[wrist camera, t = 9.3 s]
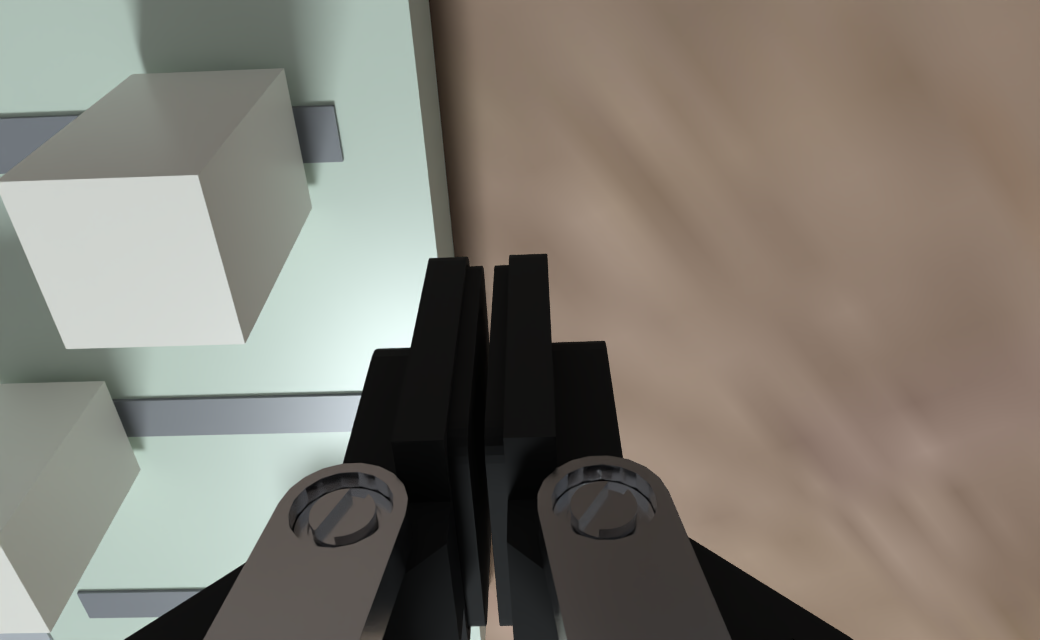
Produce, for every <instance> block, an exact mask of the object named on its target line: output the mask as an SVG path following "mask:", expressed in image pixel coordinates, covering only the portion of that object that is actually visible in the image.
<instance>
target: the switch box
mask: <svg viewBox="0 0 1040 640" xmlns="http://www.w3.org/2000/svg"><path fill="white" fill-rule="evenodd" d="M274 68H284V71H285V76H286V80H287V85H288V90H289V95H290V100H291V105H292V110H293V115H294V120H295V125H296V130H297V135H298V140H299V145H300V150H301V155H302V160H303V165H304V170H305V175H306V180H307V185H308V190H309V194H310V199H311V204H312V209H311V211H310V214H309V216H308V218H307V220H306V222H305V224H304V226H303V228H302V230H301V232H300V234H299V236H298V238H297V240H296V242H295V244H294V246H293V248H292V250H291V252H290V254H289V256H288V258H287V260H286V262H285V264H284V266H283V268H282V270H281V272H280V274H279V276H278V278H277V280H276V282H275V284H274V286H273V289H272V291H271V293H270V295H269V297H268V299H267V301H266V303H265V305H264V307H263V309H262V311H261V313H260V315H259V317H258V319H257V321H256V323H255V325H254V327H253V329H252V331H251V333H250V335H249V337H248V339H247V341H246V343H245V344H232V345H196V346H160V347H123V348H87V349H66V348H65V345H64V343H63V341H62V338H61V336H60V334H59V331H58V329H57V327H56V324H55V322H54V320H53V317H52V315H51V312H50V310H49V308H48V305H47V303H46V301H45V298H44V296H43V294H42V291H41V289H40V287H39V284H38V282H37V280H36V277H35V275H34V273H33V270H32V268H31V266H30V263H29V261H28V259H27V256H26V254H25V252H24V249H23V247H22V245H21V242H20V240H19V238H18V235H17V233H16V231H15V228H14V226H13V224H12V221H11V219H10V217H9V214H8V212H7V210H6V207H5V205H4V203H3V200H2V198H1V196H0V384H10V383H49V382H87V381H105V383H106V386H107V388H108V391H109V393H110V396H111V398H112V401H113V403H114V405H115V408H116V410H117V413H118V415H119V418H120V420H121V423H122V425H123V428H124V430H125V432H126V435H127V437H128V440H129V442H130V445H131V447H132V450H133V452H134V455H135V457H136V459H137V462H138V464H139V467H140V469H141V470H140V472H139V474H138V476H137V477H136V479H135V481H134V483H133V485H132V486H131V488H130V490H129V492H128V494H127V495H126V497H125V499H124V501H123V503H122V504H121V506H120V508H119V510H118V512H117V514H116V515H115V517H114V519H113V521H112V523H111V524H110V526H109V528H108V530H107V532H106V533H105V535H104V537H103V539H102V541H101V542H100V544H99V546H98V548H97V550H96V552H95V553H94V555H93V557H92V559H91V561H90V562H89V564H88V566H87V568H86V570H85V571H84V573H83V575H82V577H81V579H80V580H79V582H78V584H77V586H76V588H75V589H74V591H73V593H72V595H71V597H70V599H69V600H68V602H67V604H66V606H65V608H64V609H63V611H62V613H61V615H60V617H59V618H58V620H57V622H56V624H55V626H54V627H53V629H52V631H51V633H4V634H0V640H124V639H126V638H127V637H129V636H130V635H132V634H133V633H135V632H137V631H138V630H140V629H141V628H143V627H145V626H146V625H148V624H149V623H151V622H152V621H154V620H156V619H157V618H159V617H160V616H162V615H163V614H165V613H167V612H168V611H170V610H171V609H173V608H175V607H176V606H178V605H179V604H181V603H182V602H184V601H186V600H187V599H189V598H190V597H192V596H193V595H195V594H197V593H198V592H200V591H201V590H203V589H205V588H206V587H208V586H209V585H211V584H212V583H214V582H216V581H217V580H219V579H220V578H222V577H224V576H225V575H227V574H228V573H230V572H231V571H233V570H235V569H236V568H238V567H239V566H241V565H242V564H244V563H246V561H247V559H248V557H249V556H250V554H251V552H252V550H253V548H254V547H255V545H256V543H257V541H258V539H259V537H260V536H261V534H262V532H263V530H264V528H265V527H266V525H267V523H268V521H269V519H270V517H271V516H272V514H273V512H274V510H275V508H276V507H277V505H278V503H279V502H280V500H281V499H282V498H283V496H284V495H285V494H286V493H287V491H288V490H289V489H290V488H291V487H292V486H294V485H295V484H296V483H298V482H299V481H300V480H301V479H303V478H304V477H306V476H308V475H310V474H312V473H314V472H316V471H319V470H321V469H323V468H327V467H331V466H335V465H339V464H343V461H344V457H345V453H346V449H347V446H348V442H349V438H350V435H351V431H352V427H353V424H354V420H355V416H356V413H357V409H358V405H359V402H360V398H361V394H362V390H363V387H364V383H365V379H366V376H367V372H368V368H369V365H370V361H371V357H372V355H373V352H374V350H376V349H379V348H409V347H411V342H412V337H413V332H414V327H415V323H416V318H417V313H418V308H419V303H420V298H421V293H422V289H423V284H424V279H425V274H426V269H427V264H428V260H429V258H446V257H454V247H453V237H452V227H451V217H450V207H449V197H448V187H447V177H446V168H445V158H444V148H443V138H442V128H441V118H440V108H439V98H438V88H437V78H436V68H435V58H434V48H433V38H432V28H431V18H430V8H429V0H0V178H1V177H2V176H3V175H4V174H6V173H7V172H8V171H9V170H11V169H12V168H13V167H15V166H16V165H17V164H18V163H20V162H21V161H22V160H23V159H25V158H26V157H27V156H29V155H30V154H31V153H32V152H34V151H35V150H36V149H37V148H39V147H40V146H41V145H43V144H44V143H45V142H46V141H48V140H49V139H50V138H51V137H53V136H54V135H55V134H57V133H58V132H59V131H60V130H62V129H63V128H64V127H65V126H67V125H68V124H69V123H71V122H72V121H73V120H74V119H76V118H77V117H78V116H79V115H81V114H82V113H83V112H85V111H86V110H87V109H88V108H90V107H91V106H92V105H93V104H95V103H96V102H97V101H99V100H100V99H101V98H102V97H104V96H105V95H106V94H107V93H109V92H110V91H111V90H112V89H114V88H115V87H116V86H118V85H119V84H120V83H121V82H123V81H124V80H125V79H126V78H128V77H129V76H130V75H132V74H148V73H173V72H199V71H224V70H249V69H274ZM485 634H486V626H473V627H471V635H470V640H485Z"/></svg>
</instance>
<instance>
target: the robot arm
mask: <svg viewBox="0 0 1040 640" xmlns="http://www.w3.org/2000/svg"><path fill="white" fill-rule="evenodd" d="M491 532H492V544H493V555H494V567H495V578H496V590H497V601H498V613H499V623H500V626H513V635H514V640H853V639H852V638H850V637H849V636H847V635H846V634H844V633H842V632H841V631H839V630H838V629H836V628H834V627H833V626H831V625H829V624H828V623H826V622H825V621H823V620H821V619H820V618H818V617H817V616H815V615H813V614H812V613H810V612H808V611H807V610H805V609H804V608H802V607H800V606H799V605H797V604H796V603H794V602H792V601H791V600H789V599H788V598H786V597H784V596H783V595H781V594H779V593H778V592H776V591H775V590H773V589H771V588H770V587H768V586H767V585H765V584H763V583H762V582H760V581H758V580H757V579H755V578H754V577H752V576H750V575H749V574H747V573H746V572H744V571H742V570H741V569H739V568H738V567H736V566H734V565H733V564H731V563H729V562H728V561H726V560H725V559H723V558H721V557H720V556H718V555H717V554H715V553H713V552H712V551H710V550H708V549H707V548H705V547H704V546H702V545H700V544H699V543H697V542H696V541H694V540H692V539H691V538H689V537H688V536H687V533H686V531H685V528H684V526H683V524H682V521H681V519H680V517H679V514H678V512H677V510H676V507H675V505H674V502H673V500H672V498H671V495H670V493H669V491H668V489H667V488H666V486H665V485H664V483H663V482H662V480H661V479H660V478H659V477H658V476H657V475H656V474H654V473H653V472H652V471H650V470H649V469H648V468H647V467H645V466H643V465H640V464H638V463H636V462H634V461H631V460H629V459H624V458H623V455H622V449H621V442H620V435H619V428H618V422H617V415H616V408H615V401H614V395H613V388H612V381H611V374H610V368H609V361H608V354H607V348H606V343H605V341H587V342H558V343H552V340H551V320H550V300H549V280H548V259H547V254H528V255H509V265H500V266H495V267H494V282H493V298H492V314H491V330H490V345H489V332H488V319H487V306H486V292H485V279H484V269H483V266H472V267H470V266H469V259H468V257H446V258H429V260H428V264H427V269H426V274H425V279H424V284H423V289H422V293H421V298H420V303H419V308H418V313H417V318H416V323H415V327H414V332H413V337H412V342H411V347H409V348H379V349H376V350H374V352H373V355H372V357H371V361H370V365H369V368H368V372H367V376H366V379H365V383H364V387H363V390H362V394H361V398H360V402H359V405H358V409H357V413H356V416H355V420H354V424H353V427H352V431H351V435H350V438H349V442H348V446H347V449H346V453H345V457H344V461H343V464H339V465H335V466H331V467H327V468H323V469H321V470H319V471H316V472H314V473H312V474H310V475H308V476H306V477H304V478H303V479H301V480H300V481H299V482H298V483H296V484H295V485H294V486H292V487H291V488H290V489H289V490H288V491H287V493H286V494H285V495H284V496H283V498H282V499H281V500H280V502H279V503H278V505H277V507H276V508H275V510H274V512H273V514H272V516H271V517H270V519H269V521H268V523H267V525H266V527H265V528H264V530H263V532H262V534H261V536H260V537H259V539H258V541H257V543H256V545H255V547H254V548H253V550H252V552H251V554H250V556H249V557H248V559H247V561H246V563H244V564H242V565H241V566H239V567H238V568H236V569H235V570H233V571H231V572H230V573H228V574H227V575H225V576H224V577H222V578H220V579H219V580H217V581H216V582H214V583H212V584H211V585H209V586H208V587H206V588H205V589H203V590H201V591H200V592H198V593H197V594H195V595H193V596H192V597H190V598H189V599H187V600H186V601H184V602H182V603H181V604H179V605H178V606H176V607H175V608H173V609H171V610H170V611H168V612H167V613H165V614H163V615H162V616H160V617H159V618H157V619H156V620H154V621H152V622H151V623H149V624H148V625H146V626H145V627H143V628H141V629H140V630H138V631H137V632H135V633H133V634H132V635H130V636H129V637H127V638H126V639H124V640H470V635H471V627H473V626H486V625H487V613H488V590H489V568H490V546H491Z"/></svg>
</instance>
